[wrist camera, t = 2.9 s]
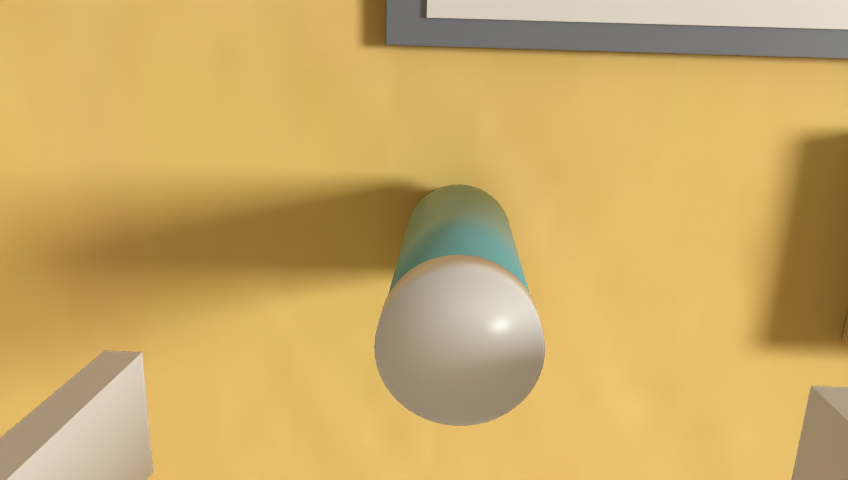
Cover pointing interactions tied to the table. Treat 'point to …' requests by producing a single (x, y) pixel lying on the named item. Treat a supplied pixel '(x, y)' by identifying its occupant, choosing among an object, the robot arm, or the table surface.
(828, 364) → the table surface
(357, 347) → the table surface
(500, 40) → the sheet
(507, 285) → the marker
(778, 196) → the table surface
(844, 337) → the button housing
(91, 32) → the table surface
